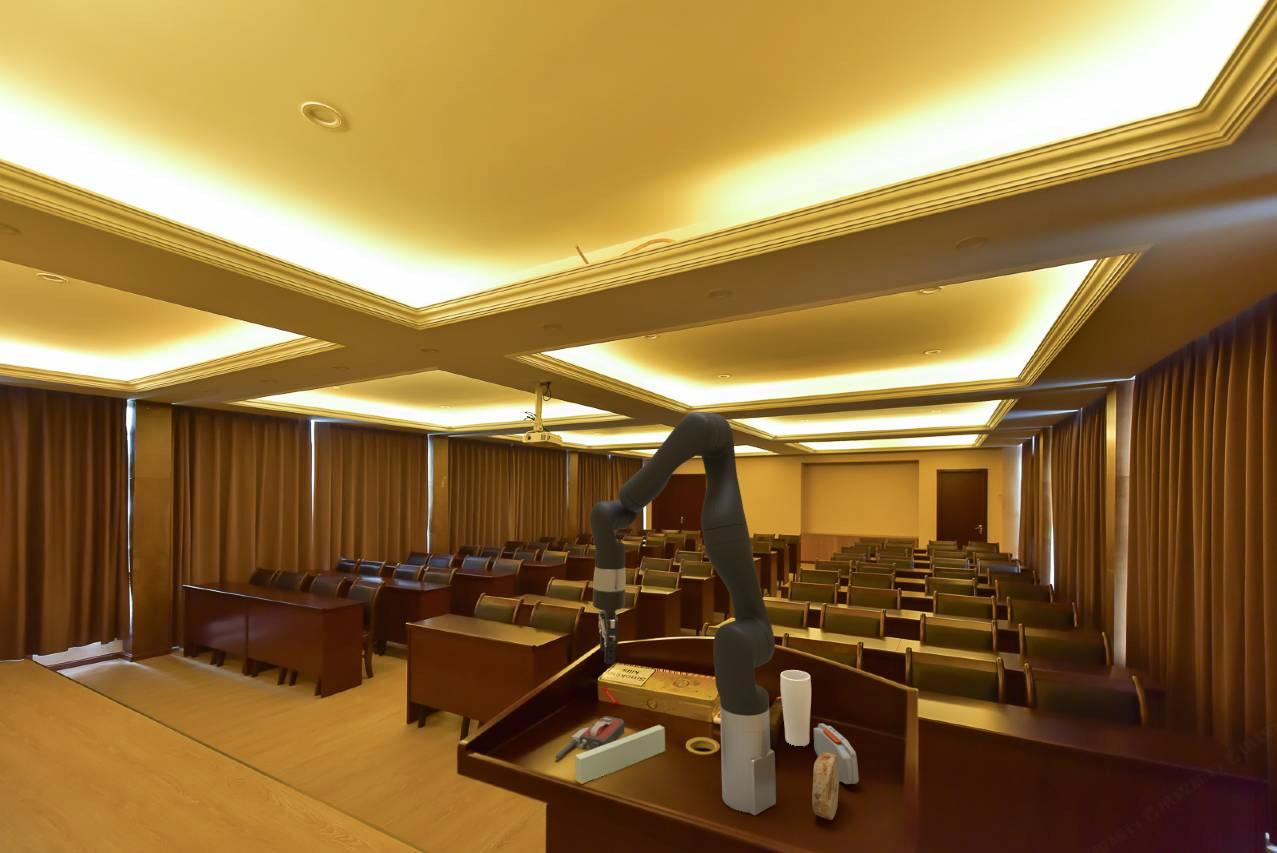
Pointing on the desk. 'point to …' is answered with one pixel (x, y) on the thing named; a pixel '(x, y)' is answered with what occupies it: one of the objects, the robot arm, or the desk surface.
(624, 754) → the bar
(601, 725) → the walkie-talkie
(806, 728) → the drinking glass
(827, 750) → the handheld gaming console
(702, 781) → the desk surface
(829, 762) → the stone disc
